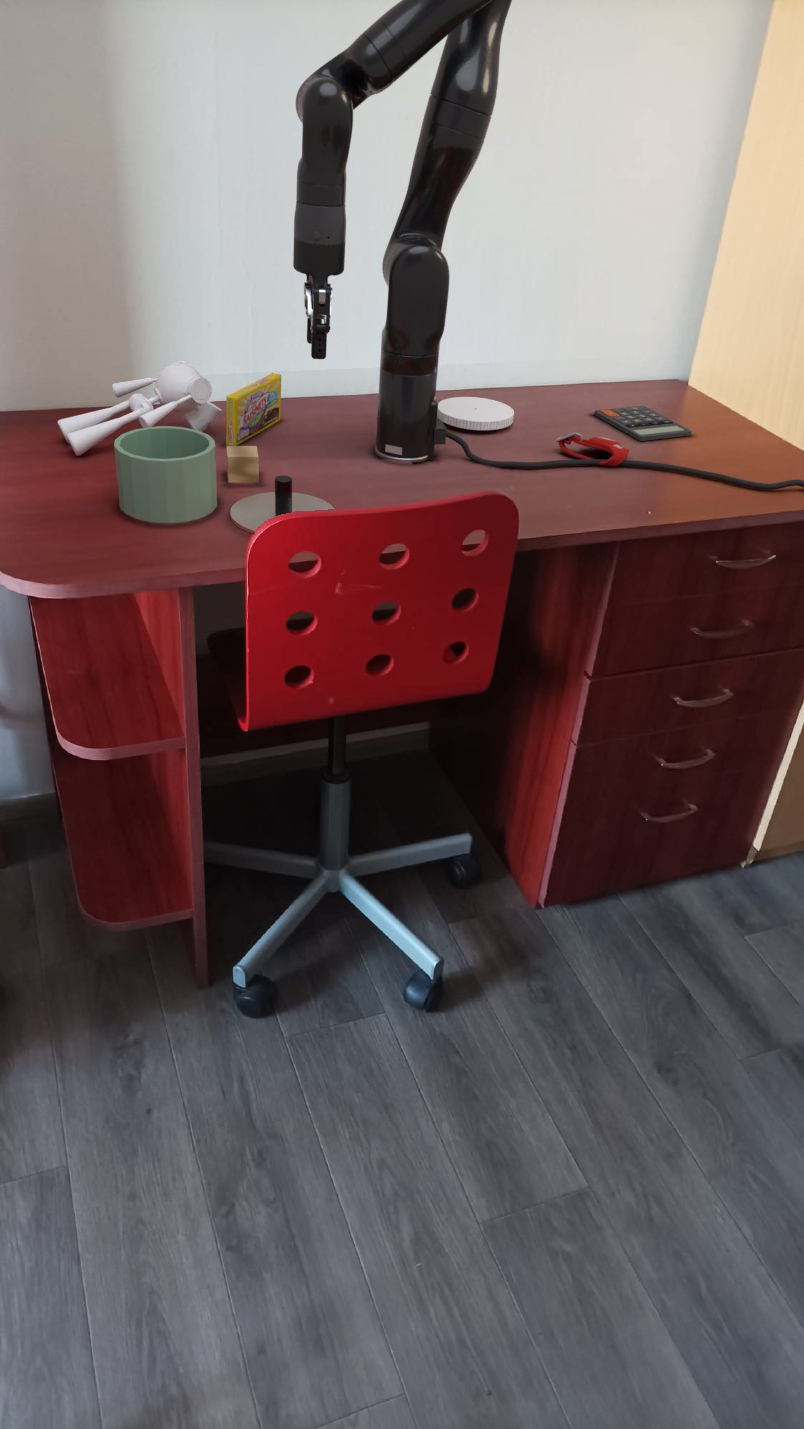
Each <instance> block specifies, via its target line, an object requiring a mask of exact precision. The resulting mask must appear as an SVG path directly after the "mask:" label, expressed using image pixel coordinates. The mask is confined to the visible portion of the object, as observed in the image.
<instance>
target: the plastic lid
mask: <svg viewBox="0 0 804 1429" xmlns="http://www.w3.org/2000/svg"><path fill="white" fill-rule="evenodd" d="M514 418H515V411H514V409H513V408H512V407H511V406H510V405H508V404H506V403H504V402H501V401H498V400H494V399H490V398H487V397H486V398H484V397H477V396H456V397H448V398H446V399H442V400H440V401H439V402H438V412H437V419H438V420H441V421H442V422H443V424H447V425H448V426H453V427H456V428H460V429H464V430H465V429H466V430H471V431H472V430H473V431H495V430H501V429H505V428H508V427H510V426H511V425H512V424H513V423H514V420H515V419H514Z"/></svg>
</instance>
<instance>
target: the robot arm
mask: <svg viewBox="0 0 804 1429" xmlns="http://www.w3.org/2000/svg"><path fill="white" fill-rule="evenodd" d="M512 1H513V0H400V1H398V3H396V4H395V5H393V6H392V7H391V8H389V9H388V10H387V11H386V12H385V13H383V14H382V15H381V16H380V17H379V18H377V20H375V21H374V22H373V23H372V24H371V25H370V26H369V27H367V29H365V30H364V31H363V32H362V33H361V34H360V35H359V36H358V37H357V38H356V39H355V40H354V41H353V42H352V43H351V44H350V45H348V47H347V48H346V49H344V50H343V51H341V52H339V53H338V54H337V55H335V56H334V57H332V58H331V59H329V60H328V61H327V62H325V63H324V64H322V66H320V67H318V69H316V70H315V71H314V72H313V73H311V74H310V75H309V76H308V77H307V78H306V79H305V80H303V82H302V83H301V85H300V86H299V88H298V90H297V91H296V92H297V93H296V96H295V110H296V114H297V117H298V119H299V121H300V123H301V124H302V132H301V133H302V137H301V157H300V159H299V161H298V164H297V171H296V199H295V200H296V201H295V210H294V216H293V217H294V218H293V255H292V256H293V260H292V266H293V269H294V270H295V271H296V272H298V273H300V274H302V275H305V276H306V279H305V280H306V281H304V284H303V293H304V297H303V298H304V309H305V315H306V342H307V344H310V356H311V359H313V360H325V359H326V358H327V346H328V345H327V344H328V341H327V340H328V339H327V337H328V334H329V333H330V330H331V316H332V299H333V287H332V284H331V283H329V277H331V276H334V277H335V276H336V277H337V276H339V275H342V274H343V273H344V271H345V261H346V241H347V240H346V237H347V214H346V213H347V212H346V210H347V209H346V201H347V166H348V160H349V154H350V149H351V142H352V136H353V129H354V128H353V127H354V111H355V110H356V108H358V107H359V106H360V105H362V104H363V103H364V102H365V101H366V100H368V99H369V98H370V97H372V96H375V95H379V94H380V93H382V92H384V91H386V90H387V89H388V88H389V87H391V86H392V85H393V84H394V83H395V82H396V81H398V80H399V79H400V78H401V77H402V76H403V75H405V73H407V72H408V71H409V70H410V69H411V68H412V67H413V66H414V65H416V64H417V63H418V62H419V61H420V60H421V59H423V58H424V57H425V56H426V55H427V54H428V53H429V52H430V51H432V49H433V48H435V47H436V46H437V45H438V44H439V43H440V42H441V41H442V40H444V39H445V38H446V39H445V42H444V46H443V48H442V49H443V50H442V52H441V56H440V59H439V62H438V66H437V69H436V73H435V77H434V80H433V83H432V86H431V89H430V93H429V97H428V100H427V103H426V107H425V110H424V114H423V118H422V123H421V126H420V131H419V136H418V140H417V144H416V148H415V152H414V156H413V160H412V165H411V170H410V175H409V180H408V184H407V185H408V186H407V190H406V193H405V197H404V200H403V203H402V206H401V209H400V211H399V214H398V217H397V219H396V221H395V225H394V227H393V230H392V233H391V235H390V238H389V241H388V243H387V245H386V249H385V251H384V254H383V256H382V264H381V265H382V266H381V269H382V270H381V271H382V276H383V280H384V282H385V284H386V286H387V288H388V289H387V304H386V317H385V322H384V323H385V324H384V326H383V328H382V330H381V340H380V341H381V342H380V361H379V379H378V382H379V383H378V397H377V398H378V399H377V417H376V421H377V422H376V435H375V436H376V437H375V447H374V448H375V449H374V453H375V455H376V456H377V457H379V459H382V460H391V461H396V462H406V463H407V462H408V463H409V462H410V463H411V464H419V463H422V462H426V461H434V458H435V447H436V446H435V445H446V441H447V440H446V439H449V440H452V441H453V442H455V443H457V444H458V445H459V446H461V448H462V451H463V452H464V454H465V457H467V459H469V460H470V461H472V462H474V463H476V464H480V465H485V466H488V467H489V466H490V467H494V468H500V469H501V468H503V469H506V468H507V469H545V468H546V469H547V468H555V467H577V466H579V467H580V466H581V467H582V466H583V467H584V466H601V465H600V464H599V462H600V461H606V460H608V459H609V458H594V459H560V460H559V459H557V460H547V461H499V460H498V461H497V460H489V459H485V458H481V457H479V456H477V455H475V454H474V453H473V452H472V451H471V449H470V446H469V445H468V443H467V442H466V441H465V440H464V439H463V438H461V437H460V436H458V435H457V434H455V433H453V432H451V431H448V429H447V427H446V425H445V423H444V422H443V421H442V420H440V419H438V417H437V412H438V403H439V402H438V400H437V398H436V397H437V395H436V394H437V385H438V384H437V383H438V372H439V359H440V358H439V357H440V350H441V340H442V338H443V335H444V332H445V328H446V320H447V310H448V303H449V302H448V301H449V292H450V267H449V263H448V260H447V258H446V256H445V254H444V253H443V252H442V249H443V243H444V238H445V234H446V231H447V227H448V222H449V218H450V214H451V212H452V209H453V207H454V205H455V202H456V200H457V198H458V196H459V194H460V192H461V190H462V188H463V187H464V185H465V184H466V182H467V180H468V179H469V177H470V175H471V173H472V171H473V169H474V167H475V165H476V163H477V161H478V159H479V156H480V154H481V151H482V149H483V146H484V143H485V139H486V137H487V133H488V130H489V127H490V123H491V120H492V116H493V115H494V114H493V113H494V109H495V105H496V100H497V92H498V85H499V76H500V75H499V73H500V56H501V46H502V45H501V43H502V37H503V32H504V28H505V23H506V20H507V17H508V14H509V11H510V9H511V8H510V7H511V5H512ZM617 466H618V467H634V468H644V469H654V470H662V471H668V472H674V473H681V474H685V475H690V476H691V475H692V476H695V477H701V478H706V479H711V480H715V481H720V482H725V483H729V484H732V485H736V486H740V487H744V488H748V489H749V488H750V489H755V490H763V491H773V490H779V489H780V490H781V489H784V488H790V487H802V488H803V489H804V479H790V480H785V481H780V482H774V483H773V482H772V483H764V482H763V483H762V482H756V481H751V480H746V479H740V478H739V477H738V478H736V477H734V476H730V475H725V474H721V473H717V472H712V471H706V470H701V469H696V468H693V467H692V468H691V467H686V466H682V465H681V466H680V465H674V464H669V463H662V462H653V461H645V460H644V461H643V460H642V461H641V460H633V459H631V460H630V459H625V460H624V461H623V462H622V463H620V464H619V465H617ZM617 466H616V467H617Z"/></svg>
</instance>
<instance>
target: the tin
mask: <svg viewBox="0 0 804 1429" xmlns="http://www.w3.org/2000/svg"><path fill="white" fill-rule="evenodd" d="M113 448H114V449H113V450H114V459H115V470H116V471H115V472H116V482H117V494H118V503H119V508H120V512H123V513H124V515H127V516H129V517H131V518H133V519H136V520H139V521H144V522H148V523H157V524H176V523H186V522H191V521H196V520H199V519H203V518H204V517H206V516H208V515H210V514H212V513H213V512H214V511H215V509H216V508H217V507H218V493H217V492H218V490H217V488H218V487H217V467H216V466H217V464H216V462H217V461H216V441H215V439H214V438H213V437H212V436H210V435H209V434H208V433H205V432H203V431H202V432H200V431H198V430H194V429H191V428H188V427H182V426H169V425H160V426H159V425H158V426H152V427H146V428H143V427H142V428H136V429H131V430H129V431H127V432H124V433H121V434H120V435H119V436H118V437H117V438H115V439H114V444H113Z"/></svg>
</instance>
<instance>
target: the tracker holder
mask: <svg viewBox="0 0 804 1429" xmlns="http://www.w3.org/2000/svg"><path fill="white" fill-rule="evenodd" d="M582 436H583V435H582V434H581V433H579V432H576V431H575V432H572V433H567V434H563V435H560V436H559V437H558V438H555V442H557V443H558V447H559V449H560V450H562V451H563V452H565V453H566V454H568V455H569V456H572V457H575V458H577V459H579V460H582V459H595V457H590V456H586V455H584V454H581V453H578V452H574V451H572V450H571V449H569V448H568V447H566V445H571V444H572V442H573V443H575V444H577V445H581V446H583V447H587V448H591V449H596V450H599V451H604V452H608V453H609V454H610V455H611V456H610V457H609V458H607V459H608V460H606V461H600V462H599V464H600V465H599V466H606V467H617V465H619V464H620V463H622V462H623V461H624V460H626V459H627V457H628V456H629V454H630V449H629V448H626V447H623V446H622V444H621V443H620V442H619V441H616V440H614V439H613V438H608V437H603V436H602V437H600V436H598V437H597V436H593V437H590V438H589V439H584V438H583V439H582Z"/></svg>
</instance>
